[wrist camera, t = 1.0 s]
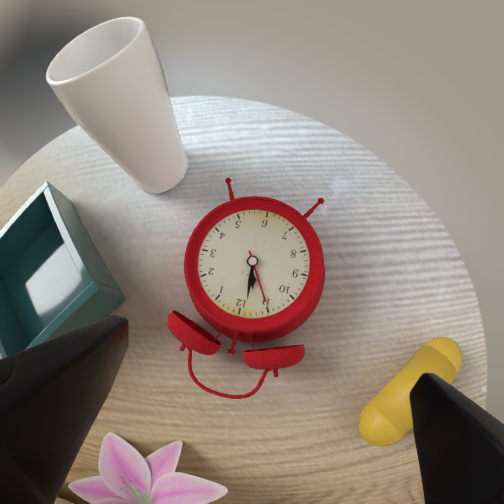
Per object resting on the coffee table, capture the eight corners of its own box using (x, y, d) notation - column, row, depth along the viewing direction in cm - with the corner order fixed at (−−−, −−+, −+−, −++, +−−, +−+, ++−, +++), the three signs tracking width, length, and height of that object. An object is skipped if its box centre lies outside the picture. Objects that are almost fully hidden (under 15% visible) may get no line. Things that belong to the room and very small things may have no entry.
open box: (126, 299, 23) (98, 289, 19) (42, 376, 21) (10, 377, 17) (71, 201, 26) (46, 180, 22) (1, 276, 25) (-26, 265, 20)
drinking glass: (125, 206, 26) (27, 99, 11) (135, 147, 28) (68, 35, 13) (195, 200, 25) (128, 63, 11) (199, 138, 27) (156, 5, 13)
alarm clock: (345, 194, 21) (307, 417, 14) (327, 239, 26) (291, 413, 19) (207, 165, 22) (122, 361, 15) (215, 214, 27) (155, 374, 20)
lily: (259, 469, 19) (220, 460, 13) (208, 573, 12) (148, 602, 6) (145, 421, 24) (80, 385, 18) (102, 510, 17) (27, 498, 11)
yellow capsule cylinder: (452, 359, 20) (479, 359, 16) (371, 446, 19) (388, 463, 15) (428, 327, 21) (453, 324, 17) (342, 416, 20) (356, 430, 16)
